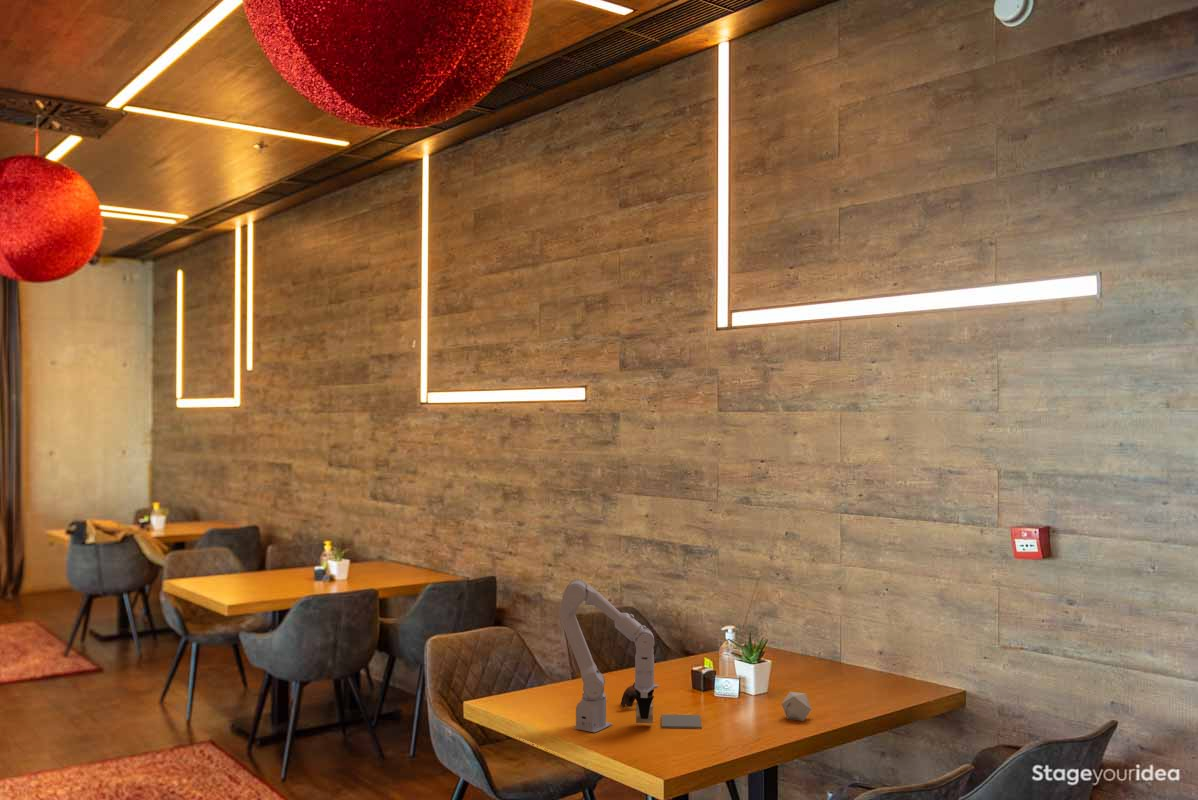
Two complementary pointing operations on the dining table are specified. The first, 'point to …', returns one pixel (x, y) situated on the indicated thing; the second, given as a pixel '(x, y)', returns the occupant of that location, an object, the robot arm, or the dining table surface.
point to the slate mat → (681, 721)
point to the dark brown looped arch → (629, 696)
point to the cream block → (650, 717)
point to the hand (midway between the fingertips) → (644, 715)
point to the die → (796, 706)
